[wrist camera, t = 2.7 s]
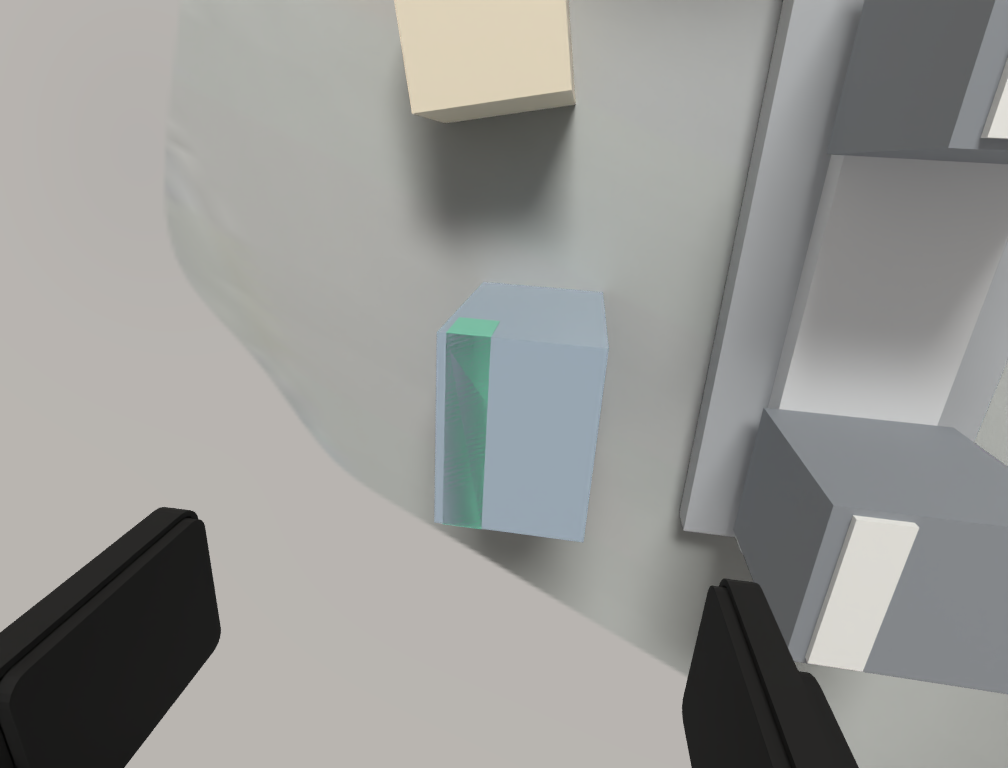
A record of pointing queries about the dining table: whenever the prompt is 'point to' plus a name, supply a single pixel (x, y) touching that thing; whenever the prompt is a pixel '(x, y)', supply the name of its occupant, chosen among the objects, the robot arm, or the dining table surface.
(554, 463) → the module
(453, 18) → the beige cube
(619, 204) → the dining table surface
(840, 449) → the rail fixture
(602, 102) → the dining table surface
